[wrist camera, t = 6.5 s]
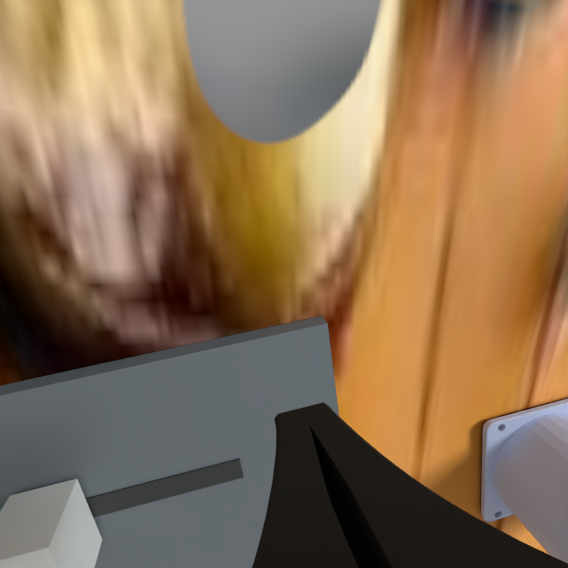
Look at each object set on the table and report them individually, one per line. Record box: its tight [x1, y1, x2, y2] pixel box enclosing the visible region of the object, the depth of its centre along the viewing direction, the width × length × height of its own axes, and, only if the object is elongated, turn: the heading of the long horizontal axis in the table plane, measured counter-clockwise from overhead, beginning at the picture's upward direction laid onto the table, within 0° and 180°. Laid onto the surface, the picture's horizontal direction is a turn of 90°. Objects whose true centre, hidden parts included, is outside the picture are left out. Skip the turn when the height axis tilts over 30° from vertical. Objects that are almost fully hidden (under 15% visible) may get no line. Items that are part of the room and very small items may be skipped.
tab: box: [0, 479, 102, 568], centre depth 17 cm, size 3×4×4 cm
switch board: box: [0, 316, 339, 568], centre depth 22 cm, size 20×24×1 cm
